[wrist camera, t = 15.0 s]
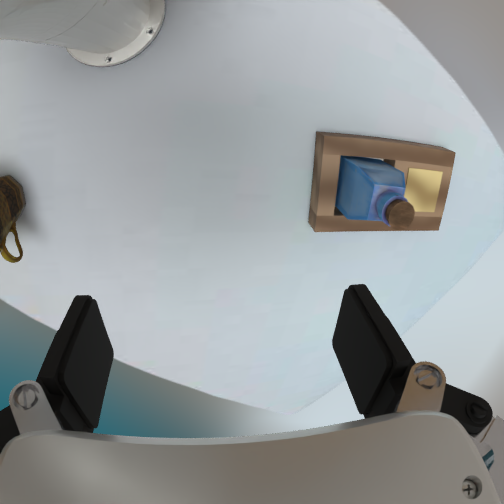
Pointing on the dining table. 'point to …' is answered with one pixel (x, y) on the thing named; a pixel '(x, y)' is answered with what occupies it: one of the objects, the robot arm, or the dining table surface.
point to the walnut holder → (395, 154)
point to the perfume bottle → (373, 192)
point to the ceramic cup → (10, 214)
